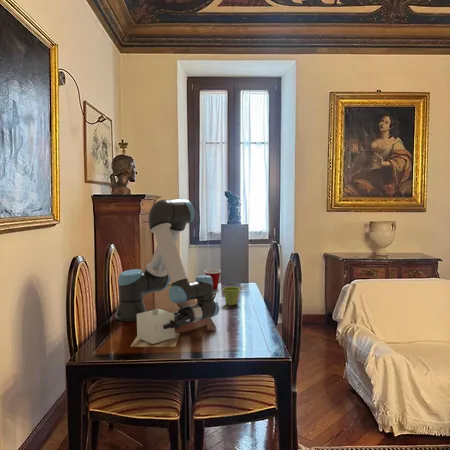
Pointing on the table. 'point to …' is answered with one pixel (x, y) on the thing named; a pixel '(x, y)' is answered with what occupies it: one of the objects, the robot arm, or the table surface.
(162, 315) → the white cube
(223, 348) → the table surface
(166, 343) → the maple board
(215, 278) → the plastic cup
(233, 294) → the plant pot
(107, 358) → the table surface
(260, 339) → the table surface
